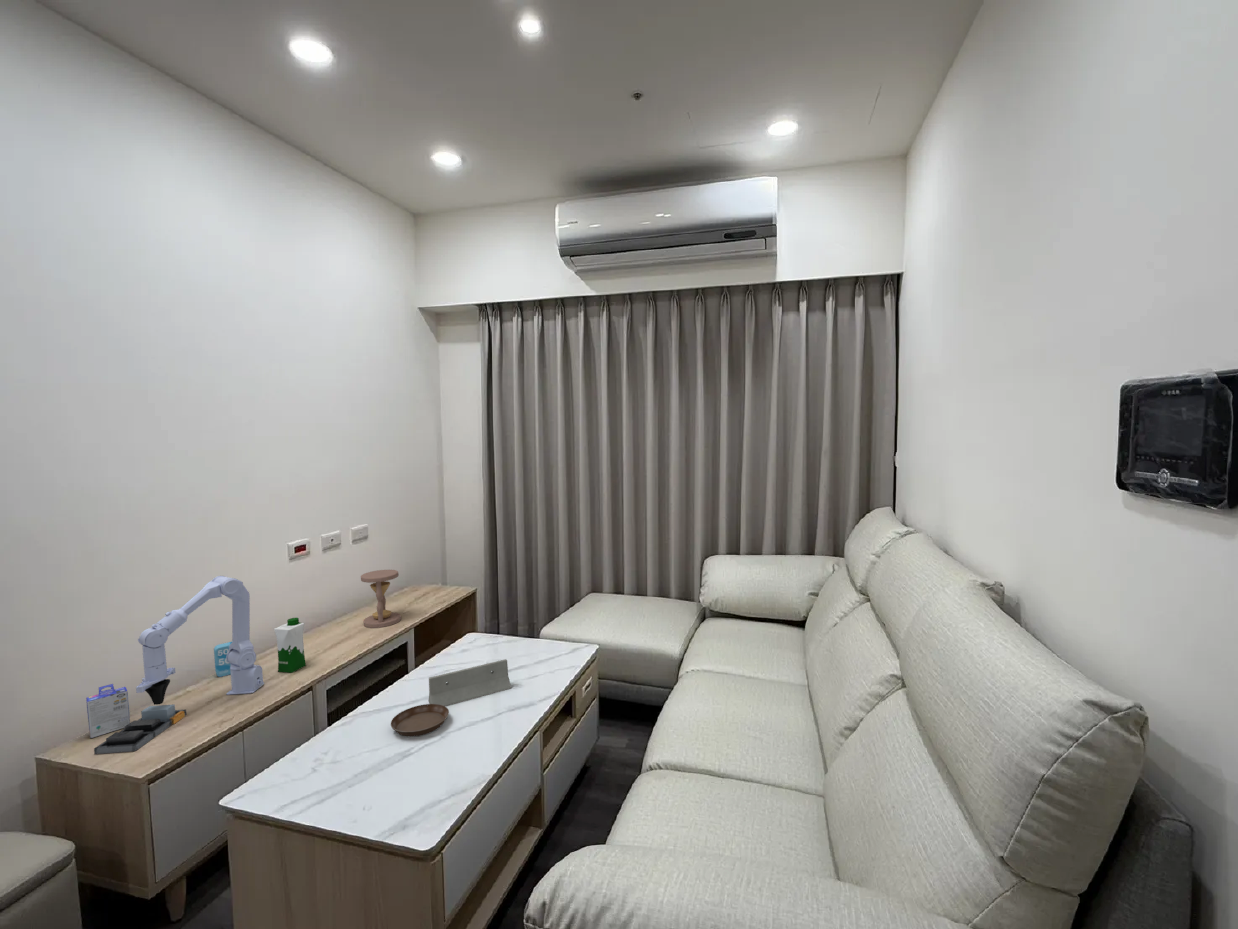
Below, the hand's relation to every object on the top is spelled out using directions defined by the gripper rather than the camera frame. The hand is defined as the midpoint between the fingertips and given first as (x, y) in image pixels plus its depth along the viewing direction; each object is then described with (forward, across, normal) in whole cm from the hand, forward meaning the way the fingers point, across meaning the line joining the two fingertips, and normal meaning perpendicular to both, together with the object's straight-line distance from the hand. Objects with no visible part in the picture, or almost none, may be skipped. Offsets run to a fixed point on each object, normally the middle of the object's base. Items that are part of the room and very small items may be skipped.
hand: (158, 703), depth 183 cm
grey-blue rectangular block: (+6, 0, 0) cm, 6 cm away
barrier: (+7, -4, +102) cm, 102 cm away
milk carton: (+7, -38, +24) cm, 45 cm away
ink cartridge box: (+6, +3, -13) cm, 15 cm away
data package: (+7, -39, +1) cm, 39 cm away
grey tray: (+6, +7, 0) cm, 9 cm away
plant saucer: (+7, +15, +90) cm, 91 cm away
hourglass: (+7, -91, +42) cm, 100 cm away
